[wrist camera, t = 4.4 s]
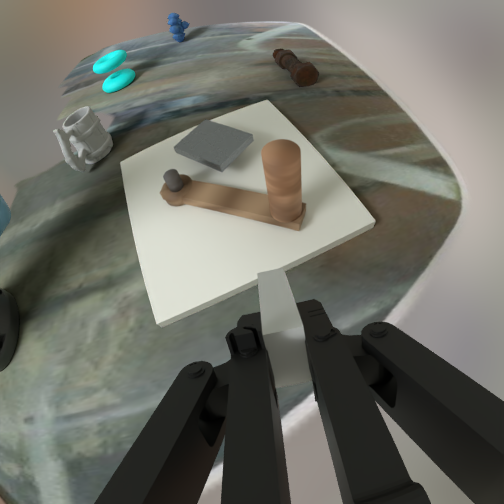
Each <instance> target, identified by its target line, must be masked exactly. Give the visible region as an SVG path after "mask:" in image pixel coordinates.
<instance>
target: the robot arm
mask: <svg viewBox="0 0 504 504" xmlns="http://www.w3.org/2000/svg"><path fill="white" fill-rule="evenodd" d="M10 218H11V212H10V209H9V207H8V205H7V204H6V202H5V201H4V199H3V198H2V196H1V195H0V236H1V234H2V233H3V231H4V230H5V228H6V227H7V225H8V224H9V221H10ZM257 276H258V288H259V300H260V312H257V313H252V314H247V315H242V316H241V318H240V319H239V320H238V323H237V327H236V328H234V329H232V330H231V331H230V332H228V333H227V335H226V337H225V338H226V341H227V344H228V347H229V350H230V353H231V359H230V360H229V361H228V362H226V363H224V364H222V365H219V366H216V367H214V368H213V367H212V365H211V364H210V363H208V362H205V361H199V362H193V363H191V364H189V365H187V366H185V367H184V368H183V369H182V370H181V371H180V373H179V374H178V376H177V377H176V379H175V380H174V382H173V384H172V385H171V387H170V388H169V390H168V391H167V393H166V394H165V396H164V397H163V399H162V401H161V402H160V404H159V405H158V407H157V408H156V410H155V411H154V413H153V414H152V416H151V418H150V419H149V421H148V422H147V424H146V425H145V427H144V428H143V430H142V431H141V433H140V435H139V436H138V438H137V439H136V441H135V442H134V444H133V445H132V447H131V448H130V450H129V451H128V453H127V454H126V456H125V458H124V459H123V461H122V462H121V464H120V465H119V467H118V468H117V470H116V471H115V473H114V474H113V476H112V477H111V479H110V481H109V482H108V484H107V485H106V487H105V488H104V490H103V491H102V493H101V494H100V496H99V497H98V499H97V500H96V502H95V503H94V504H197V503H198V500H199V498H200V496H201V493H202V491H203V489H204V486H205V484H206V481H207V479H208V476H209V474H210V471H211V469H212V466H213V464H214V462H215V459H216V457H217V454H218V451H219V449H220V446H221V444H222V441H223V439H224V436H225V446H224V462H223V477H222V494H221V504H291V500H290V491H289V483H288V474H287V467H286V459H285V450H284V442H283V434H282V426H281V418H280V410H279V402H278V396H277V392H276V388H280V387H285V386H290V385H295V384H300V383H304V382H309V381H313V388H314V395H315V402H316V401H317V403H318V407H319V411H320V415H321V418H322V422H323V426H324V430H325V434H326V437H327V441H328V445H329V449H330V453H331V457H332V460H333V465H334V468H335V473H336V477H337V481H338V485H339V489H340V493H341V497H342V502H343V504H431V502H430V500H429V498H428V496H427V494H426V492H425V490H424V488H423V487H422V486H421V485H420V484H419V483H416V482H413V481H412V480H411V478H410V476H409V474H408V472H407V469H406V467H405V465H404V463H403V460H402V458H401V456H400V454H399V451H398V449H397V447H396V445H395V443H394V441H393V438H392V436H391V434H390V432H389V430H388V428H387V426H386V423H385V421H384V419H383V417H382V415H381V413H380V411H379V409H378V406H377V404H376V402H377V403H378V404H379V405H380V406H381V407H382V408H383V409H384V411H385V412H386V413H387V414H388V415H389V416H390V417H391V418H392V419H393V420H394V421H395V422H396V423H397V424H398V425H399V426H400V427H401V428H402V429H403V430H404V431H405V433H406V434H408V436H409V437H410V438H411V439H412V440H413V441H414V442H415V443H416V444H417V445H418V446H419V447H420V448H421V449H422V450H423V451H424V452H425V453H426V454H427V455H428V457H430V458H431V460H432V461H433V462H434V463H435V464H436V465H437V466H438V467H439V468H440V469H441V470H442V471H443V472H444V473H445V474H446V475H447V476H448V477H449V478H450V479H451V480H452V481H453V482H454V483H455V484H456V485H457V486H458V487H459V488H460V489H461V490H462V491H463V492H464V493H465V494H466V495H467V497H468V498H469V499H471V500H472V502H473V503H475V504H504V401H502V400H501V399H500V398H498V397H497V396H495V395H494V394H492V393H491V392H490V391H488V390H487V389H485V388H484V387H482V386H481V385H480V384H478V383H477V382H475V381H474V380H472V379H471V378H470V377H468V376H467V375H465V374H464V373H462V372H461V371H459V370H458V369H457V368H455V367H454V366H452V365H451V364H449V363H448V362H447V361H445V360H444V359H442V358H441V357H439V356H438V355H436V354H435V353H433V352H432V351H430V350H429V349H428V348H426V347H424V346H423V345H422V344H420V343H419V342H417V341H416V340H414V339H413V338H411V337H410V336H408V335H407V334H405V333H404V332H403V331H401V330H399V329H398V328H397V327H395V326H394V325H392V324H390V323H387V322H374V323H371V324H368V325H367V326H365V327H364V328H363V330H362V331H361V335H353V336H349V335H342V334H341V333H340V331H339V330H338V329H337V328H334V327H333V326H332V324H331V322H330V320H329V318H328V316H327V314H326V312H325V310H324V308H323V306H322V304H321V303H320V302H318V301H317V300H315V299H312V300H308V301H304V302H299V303H295V300H294V297H293V294H292V291H291V288H290V285H289V282H288V279H287V277H286V274H285V271H284V268H278V269H274V270H269V271H265V272H260V273H257ZM18 332H19V312H18V306H17V303H16V300H15V298H14V297H13V296H12V295H11V294H10V293H9V292H7V291H5V290H4V289H2V288H0V371H2V370H3V369H4V368H5V367H6V366H7V365H8V363H9V362H10V360H11V358H12V356H13V353H14V350H15V347H16V343H17V339H18ZM275 386H276V387H275ZM375 401H376V402H375Z"/></svg>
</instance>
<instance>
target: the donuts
mask: <svg viewBox="0 0 504 504" xmlns="http://www.w3.org/2000/svg"><path fill="white" fill-rule="evenodd" d="M126 57H127V53H126V52H125V51H124V50H117V51H114V52H111V53H109V54H107V55H105V56H103V57H102V58H100V59H99V60H98V61H97V62H96V63H95V64H94V66H93V71H94V72H95V73H97V74H103V73H107V72H109V71H111V70H113V69H115V68H117V67H118V66H120V65H121V64H122V63H123V62H124V61H125V59H126ZM134 78H135V72H134V71H133V70H132V69H122V70H119V71H117V72H115V73H113V74H112V75H110V76H109V77H108V78H107V79H106V80H105V81H104V83H103V90H104V91H105V92H107V93H112V92H116V91H118V90H120V89H122V88H124V87H126V86H127V85H129V84H130V83H131V82H132V81H133V80H134Z"/></svg>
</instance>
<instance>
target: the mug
mask: <svg viewBox="0 0 504 504" xmlns="http://www.w3.org/2000/svg"><path fill="white" fill-rule="evenodd" d="M63 129H64V130H65V131H63V130H60V129H56V130H54V131H53V132H54V133H55V134H56V136H57V138H58V140H59V144H60V146H61V149H62V152H63V154H64V156H65V161H66V162H67V163H68V164H70V165H71V167H72V168H73V169H75V170H77V171H81V172H84V171H85V168H86V167H85V163H87V164H94V163H96V162H98V161H100V160H101V159H102V158H104V157H105V156H106V155H107V154H108V153H109V152H110V151H111V148H112V146H113V142H112V137H111V135H110V134H109V133H108V132H106V131H105V129H104V128H103V126H102V125H101V123H100V119H99V118H98V116H96V115H95V114H94V113H93V111H92V110H91V108H90V107H89V106H86V107H83V108H80V109H78V110H76V111H75V112H73V113H72V114H71V115H70V116H69V117H68V118H67V119H66V121H65V122H64V123H63ZM70 142H71V143H73V145H74V146H75V148H76V149H77V151H78V154H79V155H78V157H76V156H75V155H74V154H73V152H72V151H71V148H70V147H71V145H70Z"/></svg>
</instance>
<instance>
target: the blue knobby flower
mask: <svg viewBox="0 0 504 504" xmlns="http://www.w3.org/2000/svg"><path fill="white" fill-rule="evenodd" d="M168 19H169V21H168V24H169V25H171V27H170V32H171V33H173V34H174V35H173V38H174V39H175V40H176V41H178V42H182V41H183V40H184V38H185V37H184V36H185V33H183V32H184V29H186V28H188V26H189V23H187V22H186V21H183V22H181V21H182V20H181V19H179V15H178V14H176V13H171V14H170V15H169V16H168Z"/></svg>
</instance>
